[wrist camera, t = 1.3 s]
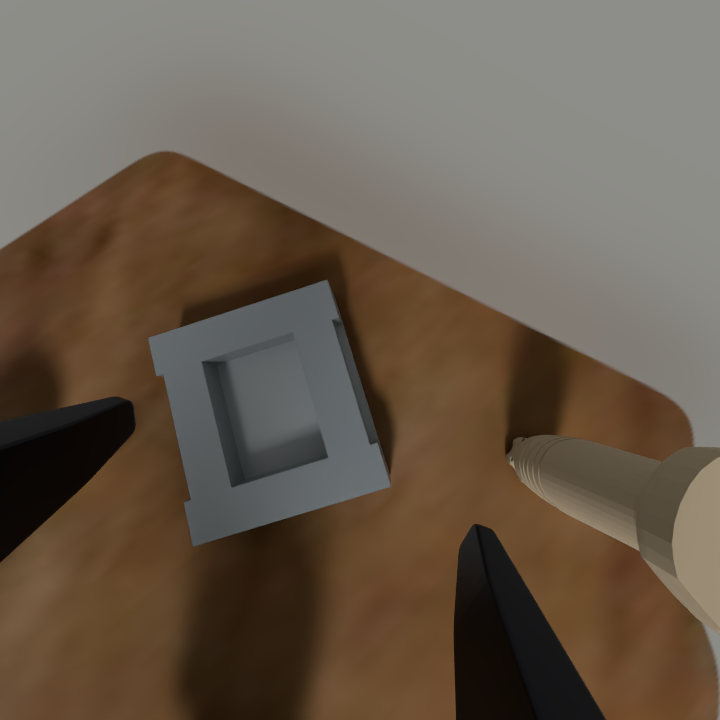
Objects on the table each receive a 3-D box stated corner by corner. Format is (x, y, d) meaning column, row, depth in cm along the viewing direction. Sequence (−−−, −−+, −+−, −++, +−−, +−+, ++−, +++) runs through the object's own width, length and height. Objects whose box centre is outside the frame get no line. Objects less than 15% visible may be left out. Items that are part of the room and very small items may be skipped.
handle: (499, 405, 23) (716, 412, 8) (587, 447, 22) (1012, 545, 7) (470, 467, 22) (642, 598, 8) (559, 513, 22) (946, 759, 7)
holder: (390, 475, 23) (391, 486, 20) (217, 527, 23) (193, 546, 20) (334, 294, 25) (327, 279, 22) (176, 345, 25) (148, 337, 22)
